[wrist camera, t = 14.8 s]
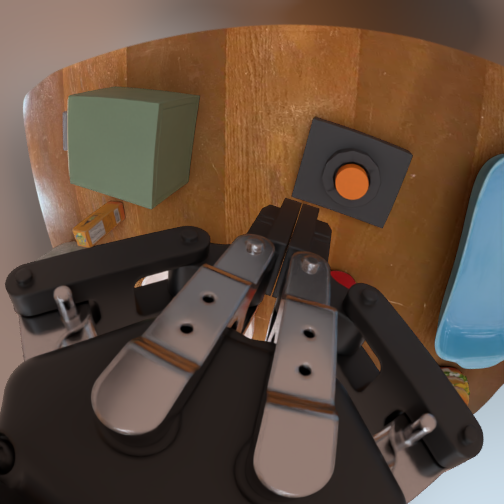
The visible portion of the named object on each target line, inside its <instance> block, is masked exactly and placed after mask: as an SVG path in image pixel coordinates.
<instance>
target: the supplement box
mask: <svg viewBox="0 0 504 504" xmlns="http://www.w3.org/2000/svg"><path fill="white" fill-rule="evenodd" d="M124 219H125V213H124V209H123V205H122V202H110V201H109V202H107V203H106V204H104V205H103V206H102V207H100V208H99V209H98V210H96V211H95V212H94V213H92V214H91V215H90V216H88V217H87V218H86V219H84V220H83V221H82V222H80V223H79V224H78V225H77V226H75V227H74V228H73V229H72V230H73V233H74V236H75V239H76V242H77V244H78V246H82V247H87V248H89V247H93V246H94V245H95V244H96V243H97V242H98V241H99V240H100V239H102V238H103V237H104V236H105V235H106V234H107V233H108V232H110V231H111V230H112V229H113V228H114V227H115V226H117V225H118V224H119V223H120V222H121V221H122V220H124Z"/></svg>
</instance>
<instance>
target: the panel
mask: <svg viewBox="0 0 504 504" xmlns="http://www.w3.org/2000/svg"><path fill="white" fill-rule="evenodd" d="M412 156H413V155H412V154H411V153H410V151H408V150H406V149H403V148H401V147H399V146H396V145H394V144H391V143H389V142H386V141H384V140H381V139H379V138H376V137H373V136H371V135H368V134H365V133H363V132H360V131H357V130H354V129H351V128H349V127H346V126H343V125H340V124H337V123H334V122H330V121H327V120H324V119H321V118H318V117H314V118H313V121H312V125H311V128H310V132H309V136H308V139H307V143H306V147H305V150H304V154H303V158H302V161H301V165H300V168H299V172H298V175H297V179H296V183H295V186H294V190H293V193H292V197H295V198H298V199H301V200H304V201H307V202H310V203H313V204H316V205H319V206H322V207H325V208H327V209H330V210H333V211H336V212H339V213H342V214H345V215H347V216H350V217H353V218H356V219H359V220H361V221H364V222H367V223H369V224H372V225H375V226H377V227H380V228H383V226H384V224H385V222H386V220H387V218H388V215H389V213H390V211H391V208H392V206H393V204H394V201H395V199H396V197H397V194H398V192H399V190H400V187H401V185H402V182H403V180H404V177H405V175H406V172H407V170H408V167H409V164H410V162H411V159H412ZM346 164H356V165H359V166H360V167H362V168H363V169H364V170H365V172H366V174H367V178H368V183H369V186H368V190H367V192H366V193H365V195H364V196H362V197H361V198H359V199H355V200H350V199H346V198H344V197H342V196H341V195H340V194H339V193H338V191H337V189H336V186H335V180H336V174H337V172H338V170H339V169H340V168H341V167H342V166H344V165H346Z"/></svg>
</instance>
